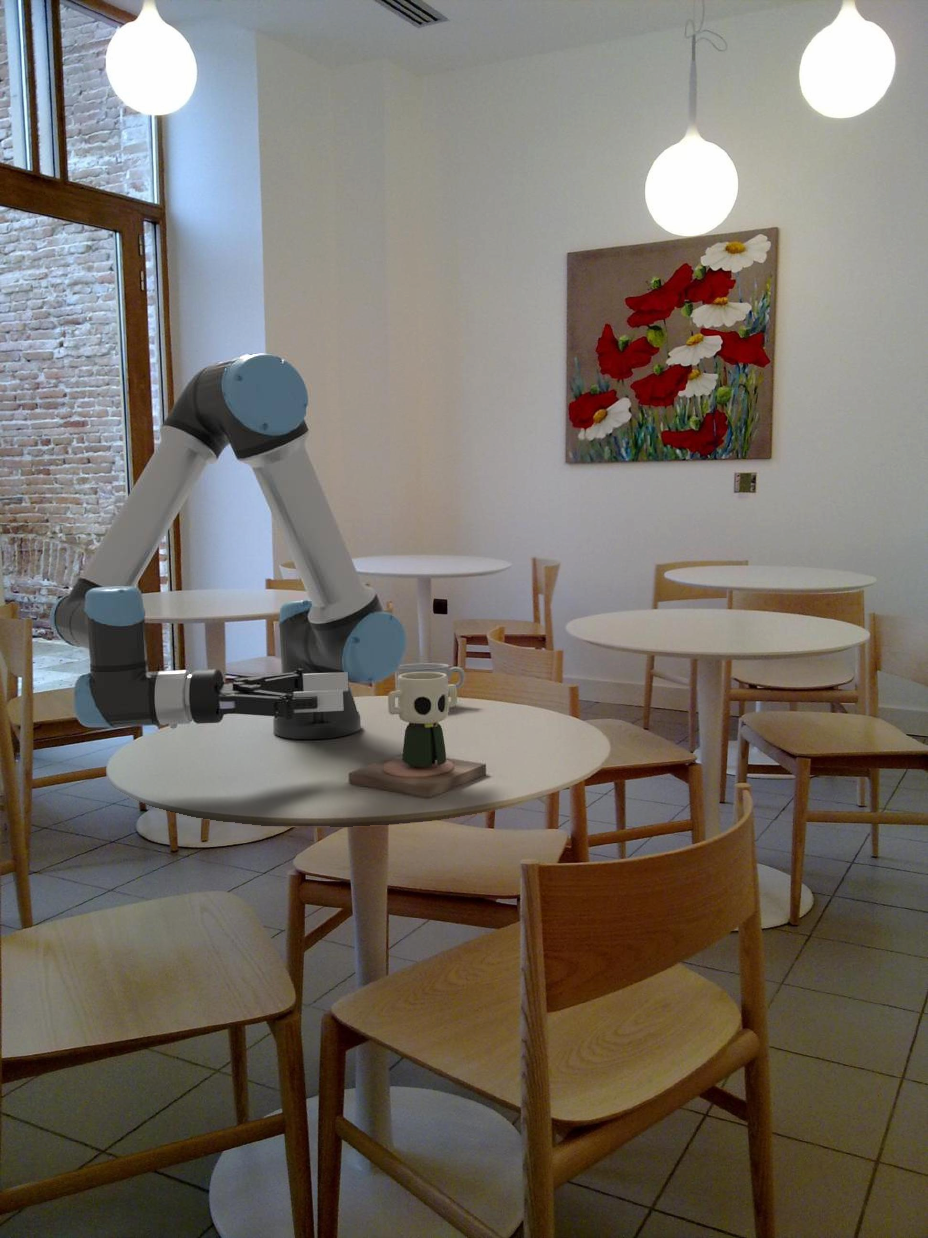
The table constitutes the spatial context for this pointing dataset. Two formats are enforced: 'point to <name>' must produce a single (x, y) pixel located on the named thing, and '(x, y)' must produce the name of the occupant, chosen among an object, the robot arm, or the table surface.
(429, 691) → the character mug
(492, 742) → the table surface
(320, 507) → the robot arm
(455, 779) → the walnut board
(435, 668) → the teacup
